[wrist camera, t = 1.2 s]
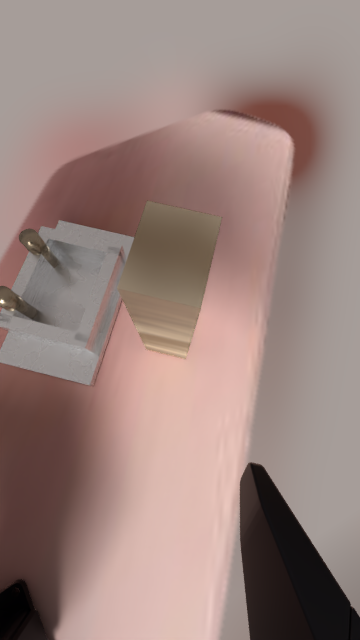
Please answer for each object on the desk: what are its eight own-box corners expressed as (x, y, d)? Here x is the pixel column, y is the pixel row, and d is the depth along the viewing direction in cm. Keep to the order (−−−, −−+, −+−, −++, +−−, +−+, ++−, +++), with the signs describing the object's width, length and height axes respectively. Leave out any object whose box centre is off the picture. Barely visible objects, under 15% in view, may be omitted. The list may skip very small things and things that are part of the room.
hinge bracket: (93, 386, 22) (71, 381, 17) (2, 363, 23) (-43, 352, 18) (140, 244, 26) (133, 209, 22) (63, 226, 27) (39, 188, 22)
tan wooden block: (185, 359, 23) (200, 308, 11) (146, 349, 23) (117, 288, 11) (196, 311, 24) (222, 217, 12) (159, 302, 25) (147, 200, 12)
